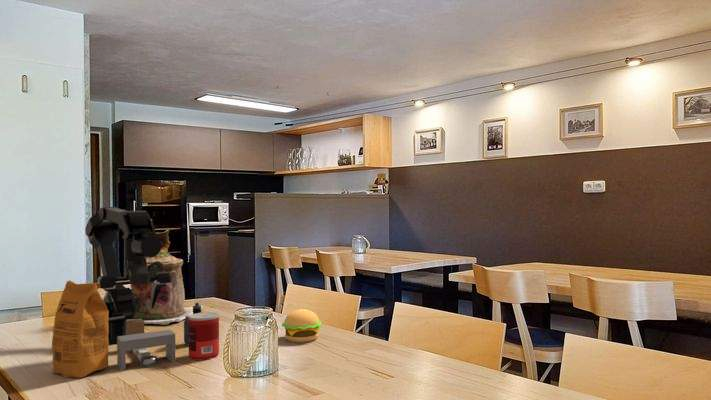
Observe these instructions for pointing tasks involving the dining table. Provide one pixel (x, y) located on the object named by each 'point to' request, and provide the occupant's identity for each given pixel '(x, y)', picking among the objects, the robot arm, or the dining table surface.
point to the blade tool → (136, 328)
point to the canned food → (203, 335)
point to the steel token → (148, 361)
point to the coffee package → (80, 331)
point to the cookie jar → (162, 290)
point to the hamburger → (301, 326)
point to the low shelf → (145, 344)
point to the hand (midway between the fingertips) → (135, 310)
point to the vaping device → (186, 328)
